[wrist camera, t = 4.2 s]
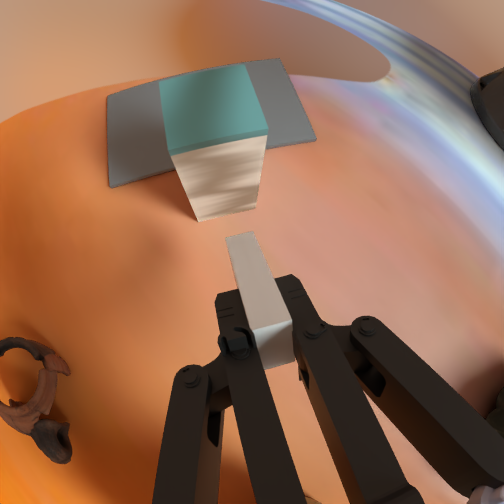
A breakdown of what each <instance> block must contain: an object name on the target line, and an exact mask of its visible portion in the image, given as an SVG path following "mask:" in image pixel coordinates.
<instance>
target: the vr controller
mask: <svg viewBox="0 0 504 504" xmlns="http://www.w3.org/2000/svg"><path fill="white" fill-rule="evenodd" d="M12 348H23V349H26V350H27V351H29V352H30V353H31V354H32V355H33V357H34V358H35V359H36V360H40V361H42V362H43V365H44V367H45V369H41V370H39V376H38V386H37V389H36V391H35V393H34V395H33V396H32V398H31V399H30V400H29V401H28V402H27V404H24V405H23V404H22V403H21V402H17V401H14V400H12V399H9V404H10V406H11V407H10V406H7V405H5V404H4V403H2V402H1V401H0V416H1V417H2V419H3V420H4V421H5V422H6V423H7V424H8V425H10V426H11V427H12V428H14V429H16V430H17V431H19V432H20V433H23V434H26V435H29V436H31V437H32V438H33V439H34V441H35V442H36V444H37V446H38V447H39V449H40V450H42V451H43V453H44V454H45V455H46V456H47V457H49V458H50V459H51V461H53V462H55V463H59V464H67V463H68V462H70V461H71V456H72V446H71V443H70V440H69V437H68V431H69V426H70V424H69V423H68V422H65V423H58V422H57V421H55V420H50V419H42V420H39V416H40V414H41V413H43V414H45V415H49V413H50V410H51V407H52V404H53V401H54V398H55V392H56V388H57V380H58V379H57V373H63V374H65V375H66V376H69V375H70V374H71V373H70V370H69V368H68V366H67V364H66V362H65V361H64V360H62V359H61V357H59V356H57V355H55V352H54V351H53V350H52V349H50V348H48V347H47V346H44V345H43V344H41V343H38V342H36V341H32V340H26V339H24V338H20V337H15V338H14V337H8V338H6V339H3V340H1V341H0V357H1V356H3V355H4V353H5V351H7V350H9V349H12Z"/></svg>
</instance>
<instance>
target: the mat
mask: <svg viewBox="0 0 504 504" xmlns="http://www.w3.org/2000/svg"><path fill="white" fill-rule="evenodd" d="M243 64H244V65H245V67H246V70H247V72H248V75H249V77H250V80H251V83H252V85H253V88H254V90H255V93H256V96H257V98H258V101H259V104H260V106H261V109H262V112H263V114H264V117H265V120H266V123H267V125H268V128H269V129H268V135H267V141H266V147H265V149H271V148H276V147H282V146H288V145H294V144H300V143H307V142H314V141H316V139H317V138H316V136H315V133H314V131H313V129H312V126H311V124H310V122H309V119H308V117H307V115H306V113H305V110H304V108H303V106H302V104H301V101H300V99H299V97H298V95H297V93H296V91H295V89H294V86H293V84H292V82H291V80H290V78H289V76H288V74H287V72H286V70H285V68H284V66H283V64H282V62H281V60H280V58H278V59H267V60H258V61H250V62H242V63H236V64H229V65H223V66H218V67H212V68H207V69H202V70H197V71H192V72H188V73H184V74H179V75H175V76H171V77H167V78H163V79H160V80H156V81H152V82H149V83H145V84H142V85H139V86H135V87H132V88H129V89H126V90H123V91H120V92H117V93H114V94H111V95H109V96H108V99H107V144H108V169H109V184H110V187H111V188H114V187H117V186H121V185H124V184H127V183H130V182H134V181H137V180H140V179H144V178H147V177H151V176H154V175H158V174H161V173H165V172H169V171H172V170H176V168H175V166H174V163H173V161H172V159H171V156H170V154H169V151H168V146H167V140H166V133H165V126H164V119H163V112H162V104H161V96H160V88H159V82H160V81H164V80H168V79H172V78H176V77H180V76H184V75H188V74H193V73H198V72H202V71H207V70H213V69H218V68H224V67H230V66H236V65H243Z"/></svg>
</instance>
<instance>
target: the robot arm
mask: <svg viewBox="0 0 504 504" xmlns="http://www.w3.org/2000/svg"><path fill="white" fill-rule="evenodd" d="M471 98H472V101H473V104H474V107H475V109H476V111H477V113H478V115H479V117H480V119H481V120H482V122H483V124H484V125H485V127H486V128H487V130H488V131H489V133H490V134H491V135H492V137H493V138H494V139H495V141H496V142H497V143H498V144H499V145H500V146H501V148H502V149H503V150H504V67H503V68H501V69H499V70H496V71H494V72H492V73H489V74H487V75H484V76H482V77H480V78H479V79H478V80H477V81H476V82H475V83H474V84H473V85H472V87H471ZM225 239H226V243H227V248H228V252H229V256H230V260H231V264H232V269H233V273H234V277H235V281H236V284H237V288H238V289H235V290H231V291H227V292H223V293H219V294H217V297H216V300H215V308H216V314H217V319H218V325H219V330H220V335H219V337H218V345H219V348H220V350H221V353H220V354H219V356H218V357H217V358H216V359H215V360H214V361H212V362H211V363H209V364H207V365H205V366H203V367H201V366H200V365H194V364H193V365H187V366H185V367H183V368H181V369H180V370H179V371H178V372H177V373H176V376H175V378H174V382H173V386H172V391H171V396H170V401H169V406H168V412H167V417H166V422H165V427H164V433H163V438H162V444H161V450H160V456H159V462H158V468H157V474H156V480H155V487H154V494H153V501H152V504H218V490H219V476H220V463H221V450H222V437H223V425H224V412H225V409H226V408H228V407H230V406H231V405H233V408H234V413H235V417H236V421H237V426H238V430H239V435H240V439H241V443H242V447H243V452H244V456H245V460H246V464H247V468H248V472H249V476H250V480H251V484H252V487H253V491H254V495H255V499H256V502H257V504H307V501H306V498H305V495H304V493H303V490H302V487H301V484H300V481H299V478H298V475H297V472H296V469H295V466H294V463H293V460H292V456H291V453H290V450H289V447H288V444H287V441H286V438H285V435H284V432H283V429H282V426H281V422H280V419H279V416H278V413H277V410H276V407H275V403H274V400H273V397H272V394H271V391H270V387H269V384H268V381H267V378H266V374H265V371H264V370H266V369H270V368H273V367H277V366H281V365H284V364H288V363H291V362H294V361H295V358H296V360H297V363H298V370H299V381H301V380H302V381H303V384H304V386H305V389H306V391H307V394H308V397H309V399H310V402H311V404H312V407H313V410H314V412H315V415H316V417H317V420H318V422H319V425H320V428H321V430H322V433H323V435H324V438H325V441H326V443H327V446H328V448H329V451H330V453H331V456H332V459H333V461H334V464H335V466H336V469H337V472H338V474H339V477H340V479H341V482H342V484H343V487H344V490H345V492H346V495H347V497H348V500H349V503H350V504H425V503H424V501H423V498H422V496H421V495H420V493H419V491H418V490H417V489H416V488H415V487H413V486H412V485H410V484H409V483H408V482H407V480H406V478H405V476H404V474H403V472H402V469H401V467H400V465H399V463H398V461H397V459H396V457H395V455H394V453H393V450H392V448H391V446H390V444H389V442H388V440H387V438H386V436H385V434H384V432H383V430H382V428H381V426H380V424H379V422H378V420H377V418H376V416H375V414H374V412H373V410H372V408H371V406H370V404H369V402H368V400H367V398H366V396H365V394H364V392H365V393H366V394H367V395H368V396H369V397H370V398H371V400H372V401H373V402H374V403H375V404H376V405H377V406H378V407H379V408H380V410H381V411H382V412H383V413H384V414H385V415H386V416H387V417H388V418H389V420H390V421H391V422H392V423H393V424H394V425H395V426H396V427H397V428H398V430H399V431H400V432H401V433H402V434H403V435H404V436H405V437H406V438H407V440H408V441H409V442H410V443H411V444H412V445H413V446H414V447H415V448H416V449H417V451H418V452H419V453H420V454H421V455H422V456H423V457H424V458H425V459H426V460H427V462H428V463H429V464H430V465H431V466H432V467H433V468H434V469H435V470H436V471H437V473H438V474H439V475H440V476H441V477H442V478H443V479H444V480H445V481H446V482H447V483H448V484H449V485H450V486H451V487H452V488H453V489H454V490H455V491H457V492H458V493H460V494H461V495H463V496H465V497H467V498H469V501H468V502H467V504H504V439H503V438H502V436H501V435H500V434H499V433H498V432H497V431H496V430H495V429H494V428H493V427H492V426H491V425H490V424H489V423H488V422H487V421H486V420H485V419H484V418H483V417H482V416H481V415H480V414H479V413H478V412H477V411H476V410H475V409H474V408H473V407H472V406H471V405H470V404H469V403H467V402H466V401H465V400H464V399H463V398H462V397H461V396H460V395H459V394H458V393H457V392H456V391H455V390H454V389H453V388H452V387H451V386H450V385H449V384H448V383H447V382H446V381H445V380H444V379H443V378H442V377H440V376H439V375H438V374H437V373H436V372H435V371H434V370H433V369H432V368H431V367H430V366H429V365H428V364H427V363H426V362H425V361H423V360H422V359H421V358H420V357H419V356H418V355H417V354H416V353H415V352H414V351H413V350H412V349H411V348H409V347H408V346H407V345H406V344H405V343H404V342H403V341H402V340H401V339H400V338H399V337H397V336H396V335H395V334H394V333H393V332H392V331H391V330H390V329H389V328H387V327H386V326H385V325H384V324H383V323H382V322H381V321H380V320H378V319H377V318H375V317H372V316H361V317H359V318H356V319H355V320H354V321H353V322H352V325H349V326H333V325H329V324H327V323H326V322H325V321H323V320H321V318H320V317H319V315H318V313H317V311H316V310H315V308H314V306H313V304H312V302H311V300H310V298H309V296H308V295H307V293H306V291H305V289H304V287H303V285H302V283H301V282H300V280H299V279H298V278H296V277H295V276H294V275H292V274H290V275H287V276H283V277H279V278H275V279H274V278H273V275H272V273H271V271H270V269H269V266H268V264H267V262H266V259H265V257H264V255H263V253H262V250H261V248H260V246H259V244H258V241H257V239H256V237H255V235H254V232H253V231H251V232H247V233H242V234H238V235H234V236H230V237H226V238H225ZM362 389H363V390H362ZM363 391H364V392H363Z"/></svg>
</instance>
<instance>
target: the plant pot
mask: <svg viewBox="0 0 504 504" xmlns="http://www.w3.org/2000/svg"><path fill="white" fill-rule="evenodd" d="M305 498H306V501H307V504H321V503H320V502H318V501H316V500H314V499H312V498H308V497H305Z"/></svg>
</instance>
